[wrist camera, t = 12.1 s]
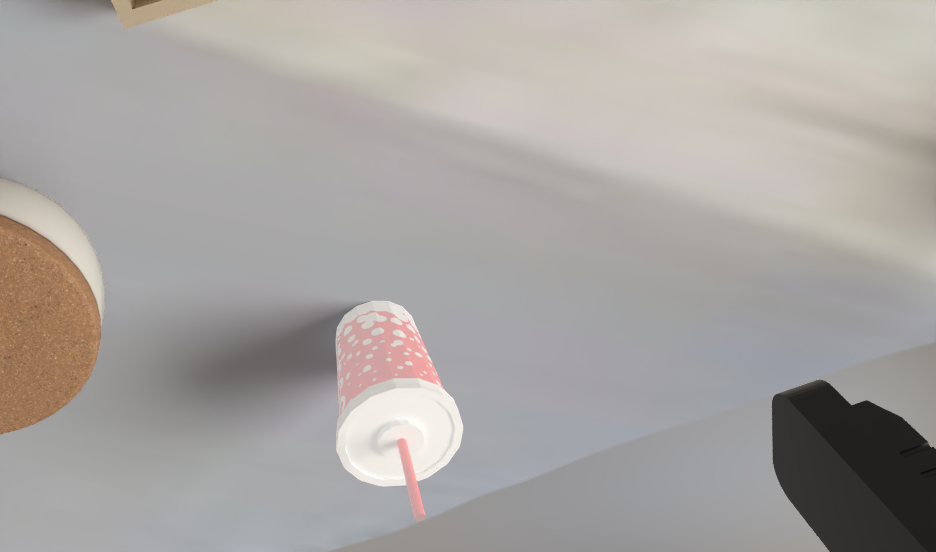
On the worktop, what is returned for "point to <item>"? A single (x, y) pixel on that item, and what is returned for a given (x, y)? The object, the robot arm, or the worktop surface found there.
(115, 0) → the divided tray
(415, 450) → the beverage cup
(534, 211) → the worktop surface
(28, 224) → the lidded jar
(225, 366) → the worktop surface
